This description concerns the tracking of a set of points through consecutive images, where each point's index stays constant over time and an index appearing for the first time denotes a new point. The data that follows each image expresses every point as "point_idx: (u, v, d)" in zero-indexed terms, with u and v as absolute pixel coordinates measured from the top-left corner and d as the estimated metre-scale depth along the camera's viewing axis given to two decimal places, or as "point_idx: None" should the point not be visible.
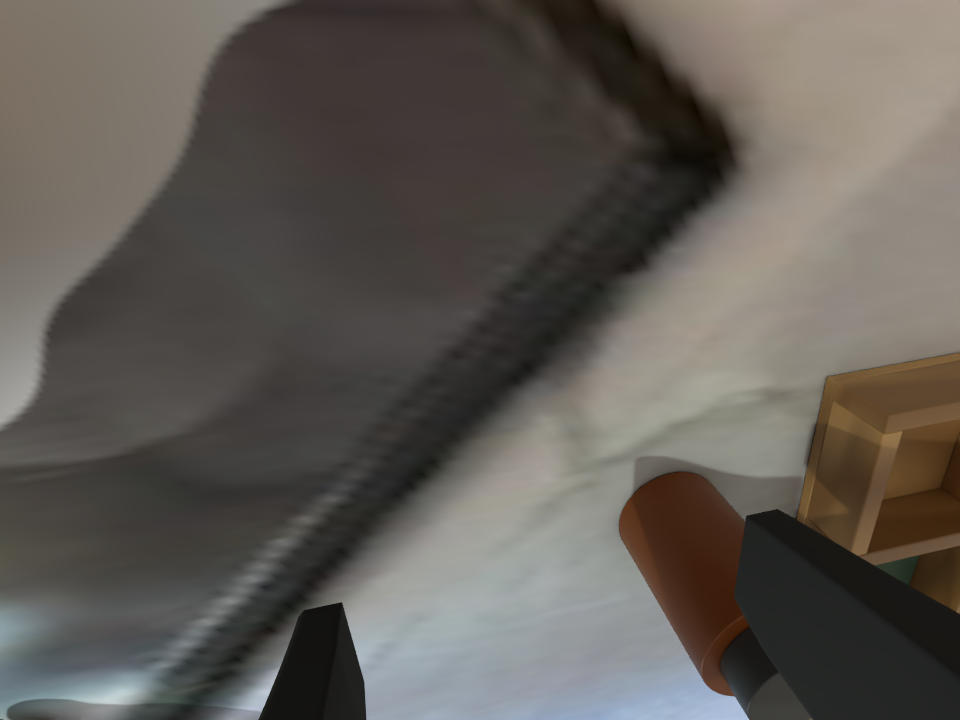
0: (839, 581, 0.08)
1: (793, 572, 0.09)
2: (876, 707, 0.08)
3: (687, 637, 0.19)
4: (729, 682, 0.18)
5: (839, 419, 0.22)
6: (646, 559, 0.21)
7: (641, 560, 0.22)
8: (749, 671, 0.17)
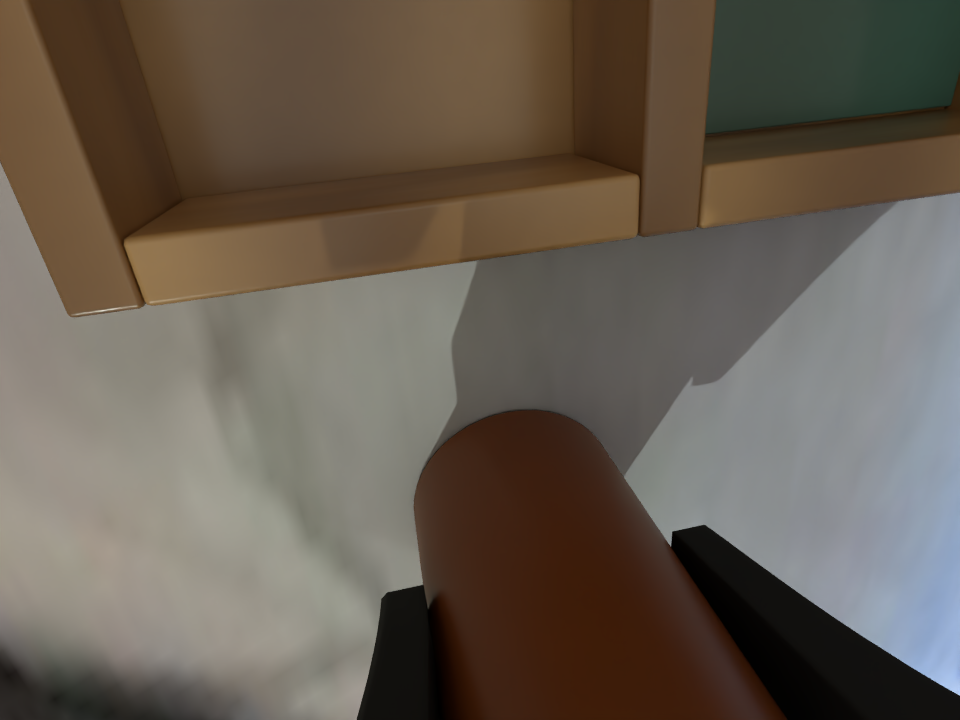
0: (751, 602, 0.08)
1: (712, 591, 0.09)
2: None
3: None
4: None
5: None
6: None
7: None
8: None
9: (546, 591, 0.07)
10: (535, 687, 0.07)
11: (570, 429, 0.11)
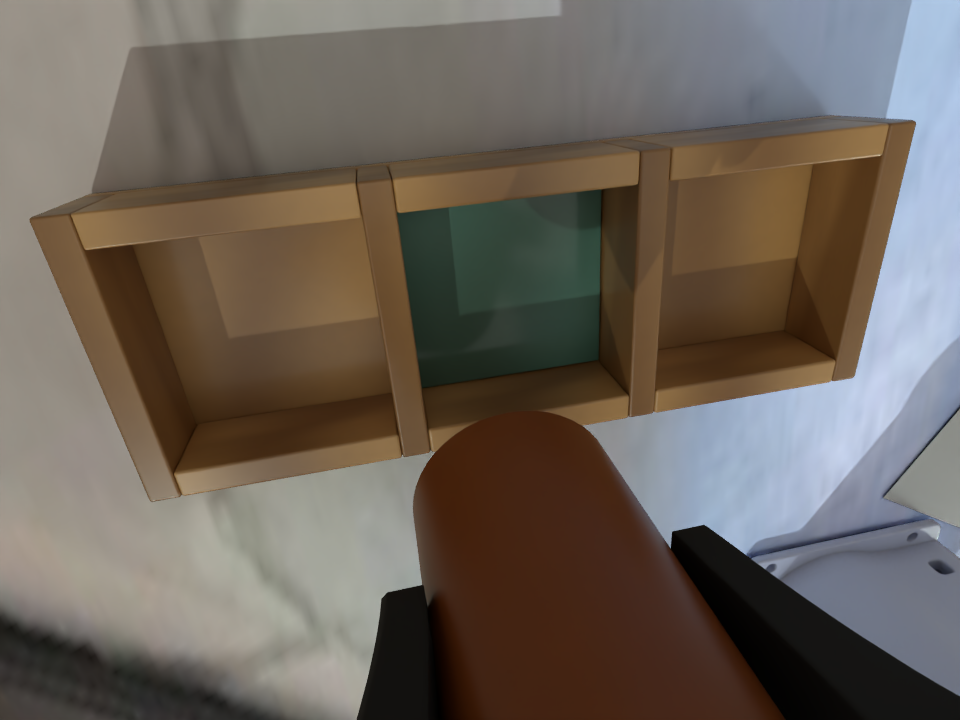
0: (750, 602, 0.08)
1: (712, 591, 0.09)
2: None
3: None
4: None
5: None
6: None
7: None
8: None
9: (545, 592, 0.07)
10: (533, 687, 0.07)
11: (569, 429, 0.11)
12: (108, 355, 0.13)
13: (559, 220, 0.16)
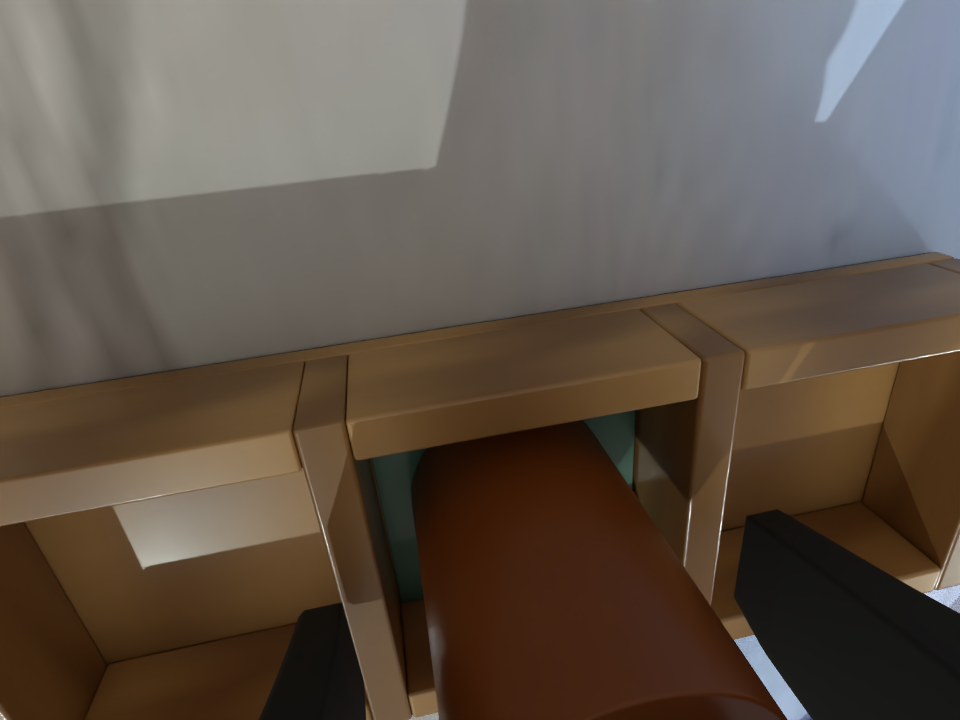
0: (839, 581, 0.08)
1: (793, 572, 0.09)
2: (876, 707, 0.08)
3: None
4: None
5: None
6: None
7: None
8: None
9: (536, 569, 0.08)
10: (524, 657, 0.07)
11: None
12: None
13: None
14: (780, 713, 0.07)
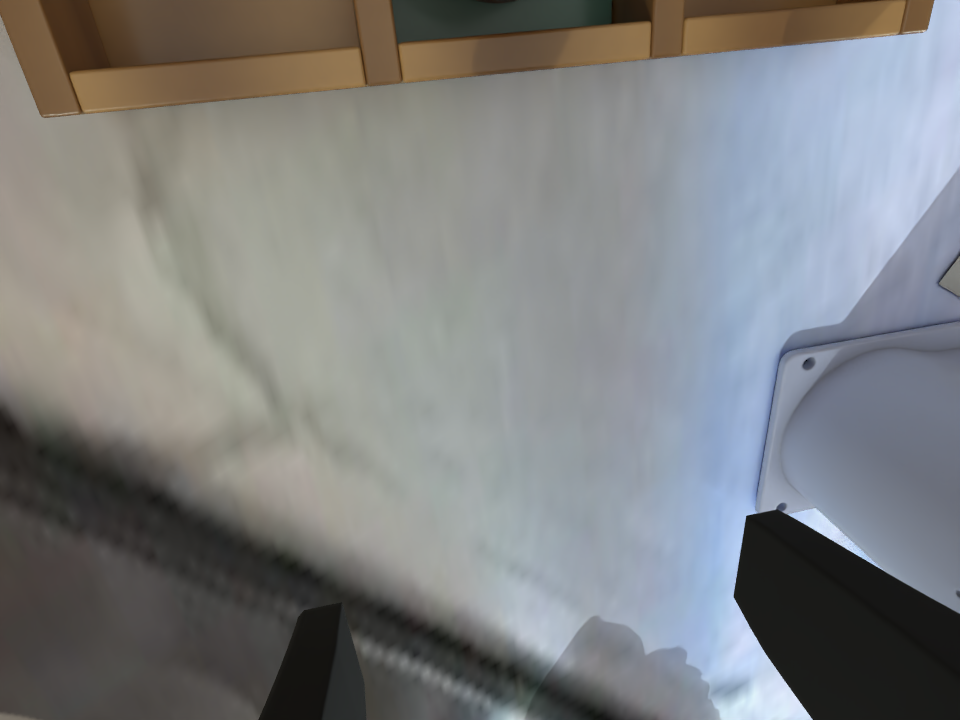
0: (839, 581, 0.08)
1: (794, 572, 0.09)
2: (876, 707, 0.08)
3: None
4: None
5: None
6: None
7: None
8: None
9: None
10: None
11: None
12: None
13: None
14: None
